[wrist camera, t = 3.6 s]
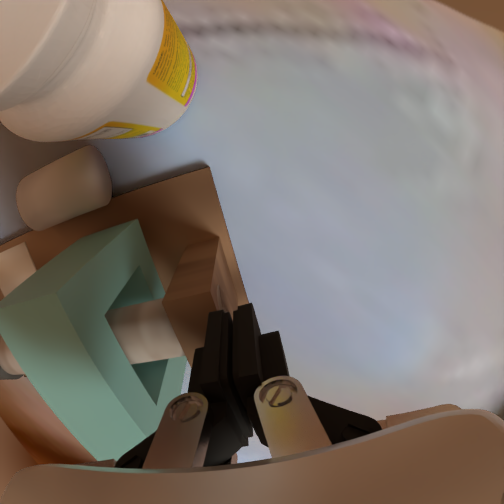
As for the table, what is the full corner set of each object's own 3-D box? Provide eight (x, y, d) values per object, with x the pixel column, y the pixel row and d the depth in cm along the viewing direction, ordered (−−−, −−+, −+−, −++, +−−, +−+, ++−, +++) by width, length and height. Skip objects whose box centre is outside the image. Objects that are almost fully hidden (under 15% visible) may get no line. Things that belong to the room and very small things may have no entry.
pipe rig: (259, 338, 21) (269, 424, 14) (27, 373, 22) (-8, 426, 15) (209, 166, 17) (189, 184, 10) (-32, 261, 18) (-87, 300, 11)
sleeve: (113, 169, 18) (110, 217, 16) (54, 194, 18) (48, 240, 16) (85, 132, 14) (75, 182, 13) (23, 165, 14) (11, 213, 13)
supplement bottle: (155, 15, 14) (59, -112, 2) (223, 86, 16) (192, -31, 3) (74, 88, 15) (-91, 64, 3) (134, 161, 17) (-28, 213, 5)
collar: (189, 348, 19) (168, 463, 11) (136, 357, 20) (98, 461, 11) (137, 218, 16) (55, 292, 8) (81, 237, 17) (-12, 311, 8)
